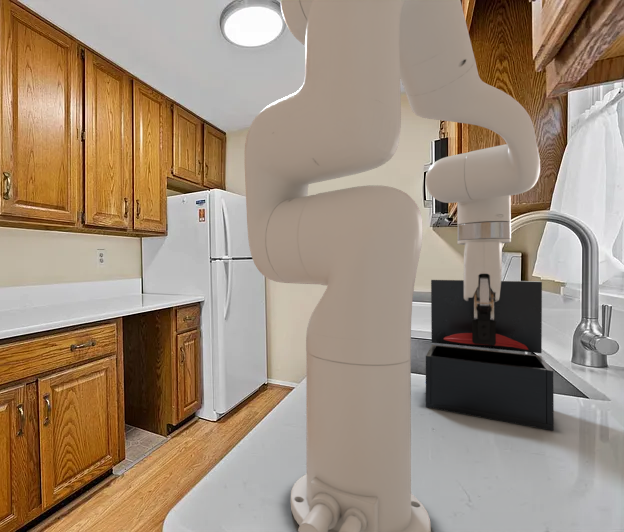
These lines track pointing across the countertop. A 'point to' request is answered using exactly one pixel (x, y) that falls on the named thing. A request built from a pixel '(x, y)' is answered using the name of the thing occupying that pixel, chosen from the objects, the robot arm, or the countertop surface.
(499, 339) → the cayenne pepper
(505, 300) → the bin lid
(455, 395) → the bin
